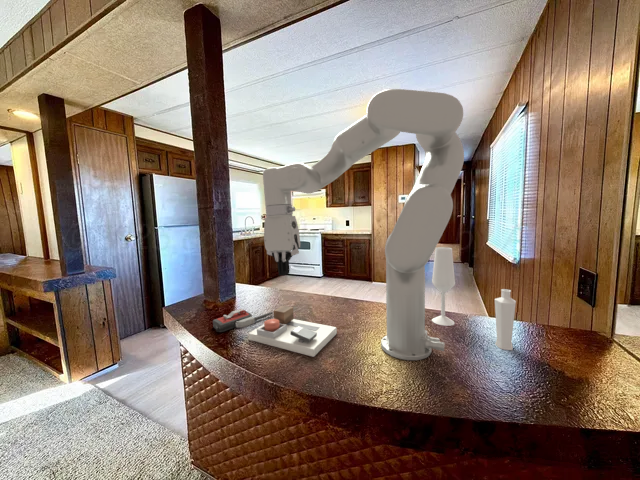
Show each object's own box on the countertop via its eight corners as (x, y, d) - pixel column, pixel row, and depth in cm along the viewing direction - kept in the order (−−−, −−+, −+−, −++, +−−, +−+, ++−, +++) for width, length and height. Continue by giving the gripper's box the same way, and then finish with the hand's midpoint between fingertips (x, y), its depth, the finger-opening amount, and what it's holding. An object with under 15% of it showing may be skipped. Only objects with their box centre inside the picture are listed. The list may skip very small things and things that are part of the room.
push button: (282, 326, 75) (282, 320, 75) (273, 332, 72) (272, 326, 71) (271, 324, 78) (270, 317, 77) (261, 330, 74) (260, 323, 74)
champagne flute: (458, 321, 82) (459, 247, 80) (449, 327, 78) (449, 250, 75) (437, 315, 87) (438, 246, 85) (427, 321, 83) (428, 248, 81)
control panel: (336, 333, 76) (336, 322, 76) (313, 356, 64) (313, 343, 64) (278, 321, 87) (277, 311, 87) (249, 339, 75) (248, 328, 74)
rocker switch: (316, 336, 70) (317, 332, 70) (309, 342, 66) (309, 338, 66) (298, 328, 72) (298, 325, 72) (290, 334, 69) (290, 330, 69)
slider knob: (293, 319, 82) (293, 307, 82) (284, 325, 78) (283, 312, 78) (283, 317, 84) (283, 305, 84) (274, 322, 80) (273, 310, 80)
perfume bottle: (506, 352, 63) (508, 293, 62) (490, 344, 67) (491, 289, 66) (520, 349, 64) (522, 291, 63) (503, 341, 68) (505, 287, 67)
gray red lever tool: (220, 337, 78) (274, 317, 92) (219, 323, 77) (273, 305, 91) (208, 329, 84) (261, 311, 98) (207, 316, 84) (260, 300, 98)
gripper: (308, 210, 73) (312, 272, 74) (267, 213, 80) (271, 271, 81) (293, 210, 66) (298, 278, 68) (250, 214, 73) (256, 276, 75)
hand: (284, 274), depth 75 cm, fingers closed
